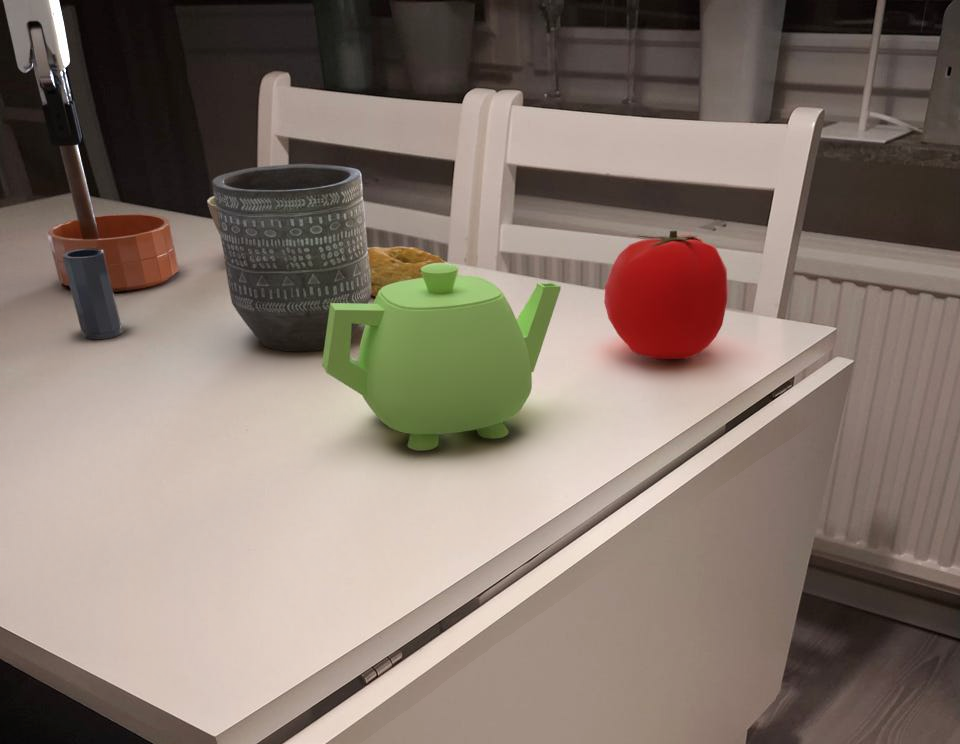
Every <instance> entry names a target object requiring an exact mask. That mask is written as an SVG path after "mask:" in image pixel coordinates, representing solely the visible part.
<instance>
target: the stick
mask: <svg viewBox="0 0 960 744" xmlns="http://www.w3.org/2000/svg"><path fill="white" fill-rule="evenodd" d="M59 151H60V154H61V158H62V163H63V166H64V170H65V174H66V178H67V182H68V186H69V191H70V194H71V198H72V203H73V206H74V210H75V214H76V219H78V223H79V227H80V231H81V235H82V239H100V237H99V233H98V229H97V225H96V221H95V216H96V215H95V212H94V209H93V204H92V200H91V195H90V192H89V187H88V184H87V179H86V175H85V171H84V166H83V161H82V158H81V154H80V149H79V145H69V146H59Z"/></svg>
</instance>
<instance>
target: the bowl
mask: <svg viewBox="0 0 960 744" xmlns="http://www.w3.org/2000/svg"><path fill="white" fill-rule="evenodd" d="M94 216H95V221H96V225H97V229H98V233H99V237H100V239H82V235H81V231H80V227H79V223H78V219H77V218H75V219H71V220H67V221H63V222H60V223H58V224H55V225H53V226H52V227H50V228H48V229H47V232H46V235H47V239H48V243H49V246H50V250H51V254H52V258H53V261H54V265H55V270H56V273H57V277H58V281H59V282H60V283H62V285H64V286H68V287H70V285H69V281H68V277H67V273H66V269H65V265H64V262H63V258H62V256H63V254H64V253H66V252H69V251H72V250H79V249H100V250H103V251H104V254H105V258H106V262H107V267H108V271H109V275H110V279H111V284H112V288H113V292H114V293H119V292H120V293H121V292H129V291H135V290H140V289H141V290H142V289H146V288H150V287H153V286H156V285H159V284H161V283H164V282H166V281H168V280H169V279H171V277H173V276H174V275H175V274H176V273H178V272H179V265H178V264H179V263H178V258H177V254H176V253H177V252H176V248H175V244H174V243H175V242H174V237H173V233H172V228H171V223H170V220H169V219H168V218H166V217H164V216H161V215H156V214H149V213H148V214H147V213H114V214H113V213H111V214H103V215H102V214H101V215H100V214H99V215H94Z"/></svg>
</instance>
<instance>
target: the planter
mask: <svg viewBox="0 0 960 744" xmlns="http://www.w3.org/2000/svg"><path fill="white" fill-rule="evenodd" d="M211 184H212V189H213V196H215V202H216V205H217V206H216V209H217V216H218V223H219V230H220V234H219V236H220V240H221V241H220V242H221V246H222V252H223V256H224V260H225V261H224V264H225V270H226V279H227V284H228V290H229V295H230V301H231V304H232V306H233V307H234V309H235V311H236V312H237V314H239V315H238V316H240V318H241V319H242V321H243V323H245V325H246V326H247V327H248V328H249V329H250V331H251V332H252V333H253V335H254V336H255V337H256V338H257V339H258V340H259V341H260V343H261V344H262V346H265V347H267V348H269V349H272V350H276V351H283V352H294V353H295V352H299V353H300V352H314V351H321V350H324V346H325V339H326V331H327V324H328V316H329V309H330V303H356V304H369V302H370V299H371V297H372V295H371V276H370V265H369V257H368V251H367V249H369V248H368V237H367V236H368V235H367V225H366V224H367V223H366V222H367V221H366V212H365V202H364V201H365V200H364V197H363V195H364V193H363V191H364V190H363V177H362V173H361V171H360V170H359V169H357V168H353V167H347V166H341V165H333V164H314V163H290V164H277V165H267V166H256V167H249V168H243V169H238V170H234V171H231V172H226V173H224V174H223V173H222V174H220V175H218V176H216V177H214V178H213V179H212V182H211ZM359 325H360V324H354V323H352V325H351V339H352V338H353V337H354V334H355V332H357V329H358V327H359Z"/></svg>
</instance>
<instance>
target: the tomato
mask: <svg viewBox="0 0 960 744" xmlns="http://www.w3.org/2000/svg"><path fill="white" fill-rule="evenodd" d="M637 237H639V238H645V239H642V240H638V241H635V242H632V243H629V244H628V245H627V246H626V247H625V248H624V249H623V250H622V251H621V252H620V253H619V254H618V255H617V257H616V259H615V260H614V262H613V264H612V267H611V269H610V272H609V275H608V278H607V281H606V284H605V287H604V301H603V302H604V308H605V311H606V314H607V318H608V320H609V321H610V323H611V326H612V327H613V329H614V330H615V332H616V334H617V335H618V336H619V338H620V339H621V340H622V341H623V342H624V343H625V344H626V345H627V347H629V348H630V350H631V351H632V352H633V353H635V354H637V355H639V356H643V357H648V358H652V359H655V360H681V359H682V360H684V359H688V358H691V357H693V356H695V355H697V354H699V353H701V352H702V351H703V350H705V349H706V348H708V347H709V345H710V344H711V343H712V342H713V341H714V340H715V339H716V338H717V335H718V334H719V332H720V330H721V328H722V326H723V324H724V318H725V314H726V308H727V304H728V297H729V289H728V269H727V266H726V265H725V262H724V261H723V259H722V257H721V255H720V253H719V250H718V249H717V247H716V246H715V245H712V244H709V243H706V242H704V241H703V239H701V238H699V237H698V236H696V235H692V234H680V235H678V230H669V235H667V236H665V235H663V236H647V235H645V236H644V235H637Z"/></svg>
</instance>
